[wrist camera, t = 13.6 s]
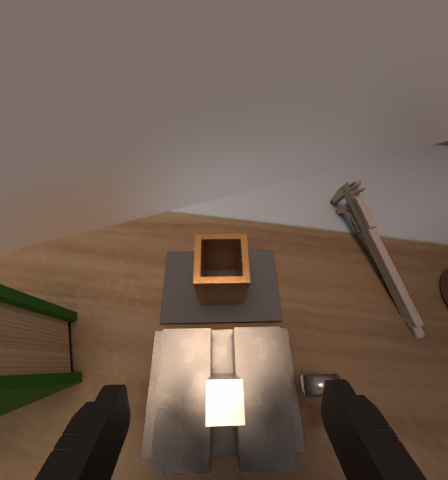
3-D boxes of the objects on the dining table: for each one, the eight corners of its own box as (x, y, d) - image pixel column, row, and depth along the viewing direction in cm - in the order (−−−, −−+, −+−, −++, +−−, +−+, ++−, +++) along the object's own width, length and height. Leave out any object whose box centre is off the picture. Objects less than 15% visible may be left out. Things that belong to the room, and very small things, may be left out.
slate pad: (271, 252, 31) (272, 250, 30) (281, 321, 26) (282, 320, 26) (168, 253, 30) (167, 251, 30) (160, 324, 26) (159, 323, 25)
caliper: (328, 203, 35) (348, 173, 30) (334, 202, 36) (355, 172, 30) (414, 340, 26) (466, 333, 20) (422, 337, 26) (476, 329, 21)
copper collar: (240, 265, 29) (246, 233, 22) (242, 304, 27) (250, 282, 20) (201, 265, 29) (195, 234, 22) (200, 305, 27) (193, 283, 20)
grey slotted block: (308, 330, 26) (377, 302, 15) (330, 444, 21) (460, 536, 10) (159, 333, 26) (111, 307, 14) (147, 451, 21) (58, 555, 9)
